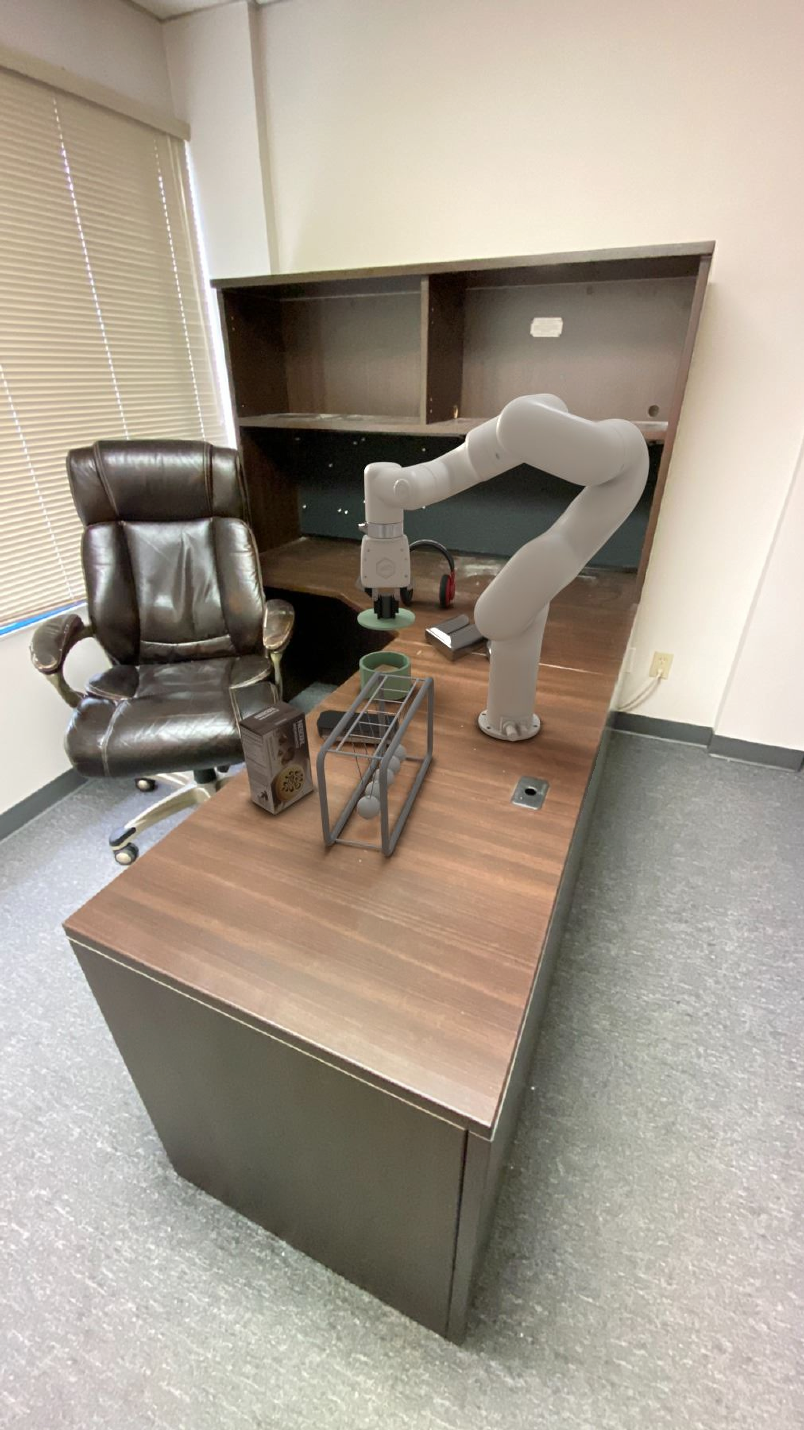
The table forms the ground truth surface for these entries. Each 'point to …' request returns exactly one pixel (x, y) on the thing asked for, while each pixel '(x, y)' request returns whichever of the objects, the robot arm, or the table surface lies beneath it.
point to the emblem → (457, 637)
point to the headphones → (446, 581)
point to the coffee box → (277, 756)
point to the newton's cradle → (388, 766)
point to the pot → (387, 673)
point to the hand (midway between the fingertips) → (386, 615)
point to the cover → (386, 616)
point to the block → (385, 668)
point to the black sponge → (332, 718)
